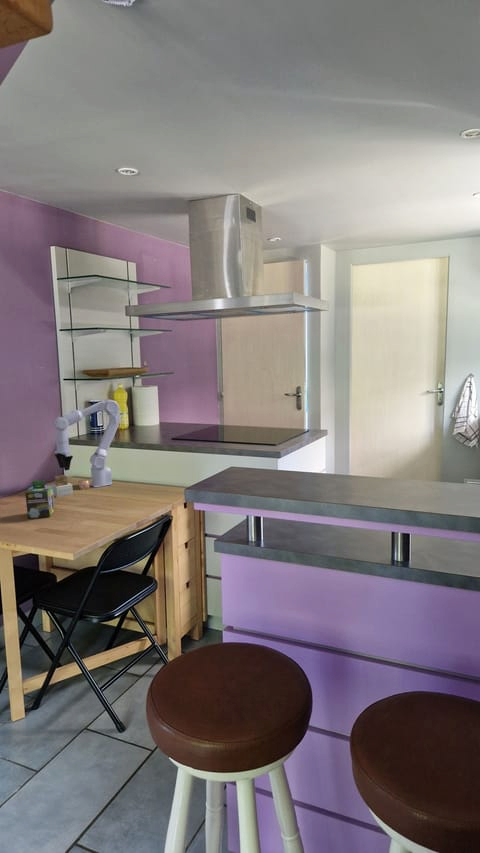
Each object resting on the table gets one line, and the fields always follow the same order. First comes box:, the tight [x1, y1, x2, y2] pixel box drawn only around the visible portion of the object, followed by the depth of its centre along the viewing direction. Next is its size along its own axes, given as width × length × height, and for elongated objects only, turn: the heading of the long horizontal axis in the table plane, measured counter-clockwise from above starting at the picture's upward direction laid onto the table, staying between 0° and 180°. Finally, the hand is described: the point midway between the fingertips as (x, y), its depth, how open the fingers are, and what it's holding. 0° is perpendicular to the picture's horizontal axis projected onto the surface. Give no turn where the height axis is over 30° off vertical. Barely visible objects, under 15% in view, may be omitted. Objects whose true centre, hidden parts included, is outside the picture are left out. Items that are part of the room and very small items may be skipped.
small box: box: [52, 482, 74, 498], centre depth 257 cm, size 8×8×5 cm
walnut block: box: [54, 474, 69, 486], centre depth 257 cm, size 4×4×4 cm
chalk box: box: [24, 480, 56, 519], centre depth 224 cm, size 9×9×15 cm
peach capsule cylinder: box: [78, 478, 91, 491], centre depth 268 cm, size 5×5×4 cm
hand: (64, 468), depth 266 cm, fingers open, 7 cm apart
